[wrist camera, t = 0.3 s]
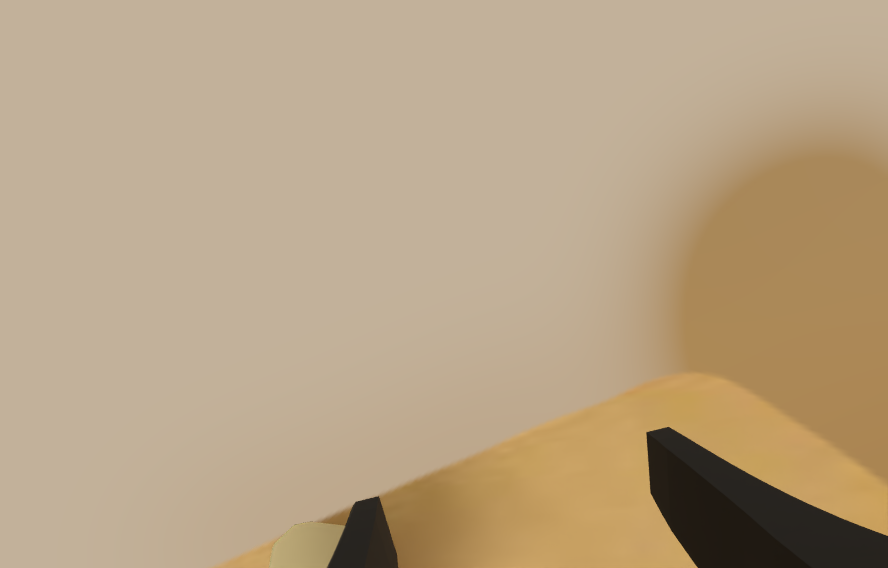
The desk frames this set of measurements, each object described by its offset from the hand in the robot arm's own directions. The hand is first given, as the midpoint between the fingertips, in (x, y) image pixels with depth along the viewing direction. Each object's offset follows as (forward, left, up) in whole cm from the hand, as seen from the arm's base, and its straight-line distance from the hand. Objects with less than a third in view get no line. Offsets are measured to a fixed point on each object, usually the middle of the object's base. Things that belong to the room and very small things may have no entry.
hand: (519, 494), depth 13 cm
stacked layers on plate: (+15, +15, -21) cm, 30 cm away
